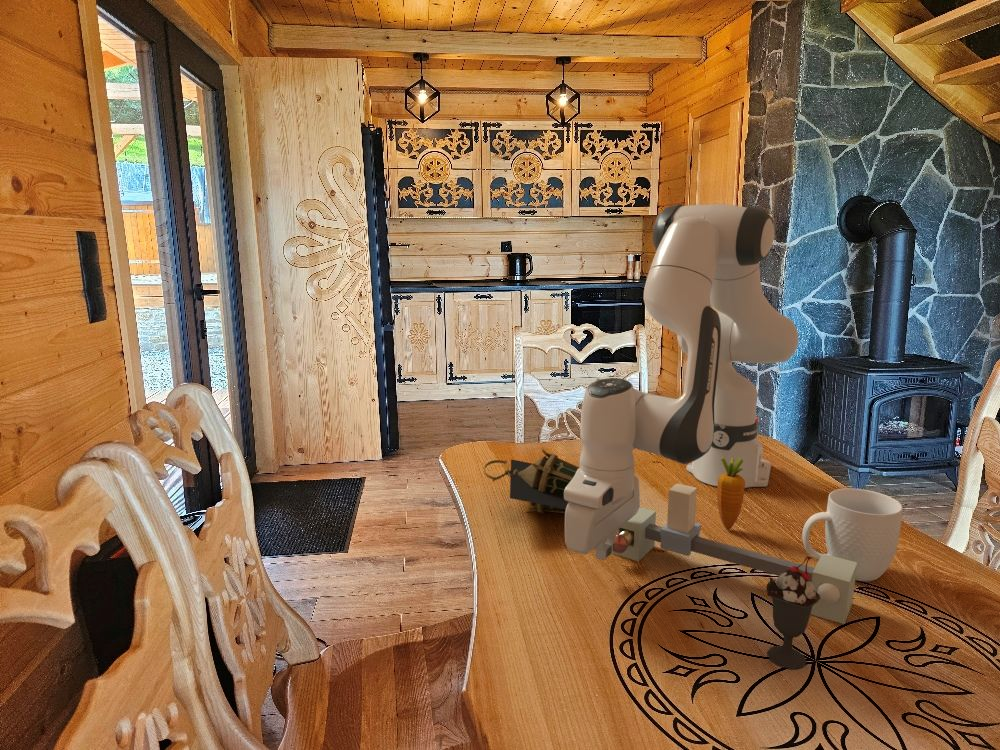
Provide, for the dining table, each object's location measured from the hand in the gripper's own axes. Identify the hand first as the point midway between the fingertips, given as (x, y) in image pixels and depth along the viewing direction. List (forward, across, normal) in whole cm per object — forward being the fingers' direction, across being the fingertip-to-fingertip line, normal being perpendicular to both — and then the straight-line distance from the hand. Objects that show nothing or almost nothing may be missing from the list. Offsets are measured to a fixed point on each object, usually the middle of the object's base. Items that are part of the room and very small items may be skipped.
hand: (603, 556), depth 111 cm
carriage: (+1, -12, +9) cm, 15 cm away
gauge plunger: (+2, -10, 0) cm, 10 cm away
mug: (+4, -26, +34) cm, 43 cm away
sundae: (+4, +4, +30) cm, 31 cm away
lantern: (+4, -18, -21) cm, 28 cm away
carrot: (+4, -30, +12) cm, 33 cm away
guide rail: (+4, -12, +16) cm, 21 cm away
